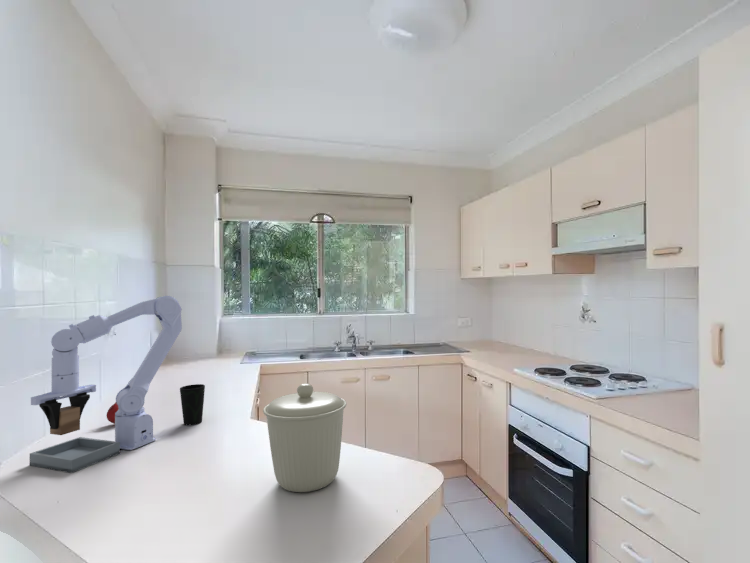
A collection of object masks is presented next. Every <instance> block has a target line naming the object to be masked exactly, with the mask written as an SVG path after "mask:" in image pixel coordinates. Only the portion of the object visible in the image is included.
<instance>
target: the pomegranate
mask: <svg viewBox="0 0 750 563" xmlns="http://www.w3.org/2000/svg"><path fill="white" fill-rule="evenodd" d="M118 409H119V408H118V405H117V403H116V401H115V402H114V404H112V405H111V406H110V407H109V408H108V409H107V412H106V416H105V417H106V419H107V421H108V422H110V423H111V424H113V425H115V413H116V412H117V411H118Z"/></svg>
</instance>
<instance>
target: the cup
mask: <svg viewBox="0 0 750 563" xmlns="http://www.w3.org/2000/svg"><path fill="white" fill-rule="evenodd" d="M205 389H206V384H200V383H197V384H195V383H194V384H188V385H185V386H181V387H180V388H179V392H180V393H179V394H180V402H181V412H182V420H183V425H184V426H195V425H198V424H201V423H202V422H203V414H204V412H203V411H204V404H205V402H204V401H205Z"/></svg>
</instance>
